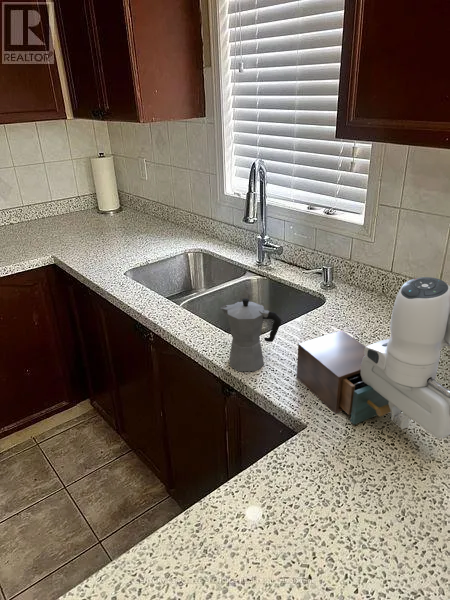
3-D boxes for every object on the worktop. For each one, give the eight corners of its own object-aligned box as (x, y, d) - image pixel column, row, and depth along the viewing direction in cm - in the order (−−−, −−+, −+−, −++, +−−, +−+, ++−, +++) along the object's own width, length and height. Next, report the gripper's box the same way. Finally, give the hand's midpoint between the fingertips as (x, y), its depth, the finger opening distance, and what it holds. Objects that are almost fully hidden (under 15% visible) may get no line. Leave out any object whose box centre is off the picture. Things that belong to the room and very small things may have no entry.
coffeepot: (215, 366, 112) (211, 303, 104) (229, 347, 120) (227, 287, 112) (274, 380, 106) (275, 313, 98) (285, 359, 114) (287, 295, 106)
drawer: (412, 419, 92) (418, 388, 88) (368, 438, 87) (373, 407, 84) (353, 373, 106) (357, 346, 102) (314, 388, 102) (316, 359, 98)
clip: (361, 388, 99) (363, 372, 97) (370, 395, 97) (372, 379, 95) (343, 395, 98) (344, 378, 96) (352, 402, 95) (354, 386, 93)
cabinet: (380, 396, 100) (386, 360, 96) (335, 414, 95) (338, 377, 91) (338, 363, 112) (341, 330, 107) (296, 377, 107) (298, 343, 103)
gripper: (473, 391, 73) (456, 453, 79) (383, 335, 90) (374, 390, 96) (446, 403, 71) (431, 466, 77) (358, 343, 87) (351, 399, 94)
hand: (399, 423), depth 87 cm, fingers closed
